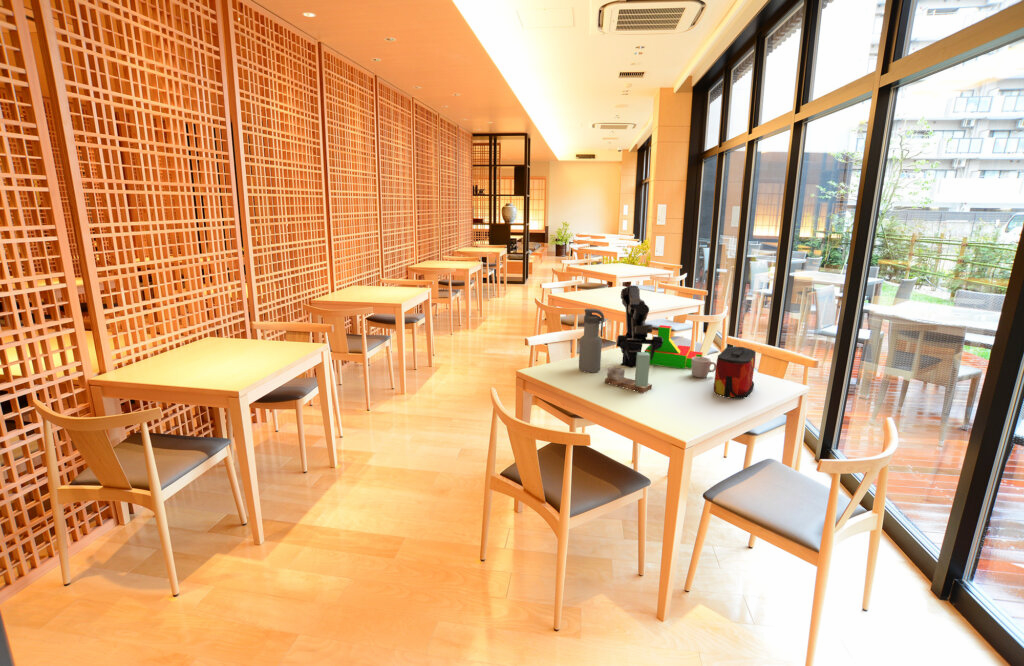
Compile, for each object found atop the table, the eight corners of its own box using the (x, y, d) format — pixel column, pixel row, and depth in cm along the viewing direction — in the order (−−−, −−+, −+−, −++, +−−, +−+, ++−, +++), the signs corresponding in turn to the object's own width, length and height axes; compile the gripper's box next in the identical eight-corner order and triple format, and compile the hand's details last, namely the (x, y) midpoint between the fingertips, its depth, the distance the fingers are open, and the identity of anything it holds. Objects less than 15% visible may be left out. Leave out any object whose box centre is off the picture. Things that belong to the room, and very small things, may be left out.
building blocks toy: (698, 371, 242) (702, 332, 238) (643, 363, 252) (646, 326, 248) (702, 360, 259) (706, 324, 255) (650, 354, 269) (653, 319, 265)
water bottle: (600, 367, 244) (604, 308, 238) (601, 373, 235) (604, 312, 228) (578, 366, 246) (581, 307, 239) (578, 372, 236) (581, 311, 230)
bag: (724, 376, 234) (728, 340, 230) (758, 382, 227) (763, 345, 223) (708, 395, 210) (712, 356, 206) (745, 402, 202) (750, 361, 199)
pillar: (634, 382, 217) (636, 352, 214) (645, 382, 217) (648, 352, 214) (636, 385, 213) (638, 355, 210) (647, 386, 212) (650, 355, 209)
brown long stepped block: (604, 382, 223) (605, 369, 221) (613, 379, 228) (614, 365, 226) (643, 393, 211) (644, 378, 209) (651, 389, 216) (652, 375, 214)
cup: (712, 374, 237) (714, 357, 235) (717, 379, 229) (719, 362, 228) (688, 373, 238) (689, 356, 236) (692, 378, 230) (693, 361, 229)
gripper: (618, 316, 221) (620, 348, 213) (664, 318, 219) (667, 350, 211) (615, 330, 231) (616, 361, 223) (659, 331, 229) (661, 363, 221)
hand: (640, 359), depth 219 cm, fingers open, 9 cm apart
